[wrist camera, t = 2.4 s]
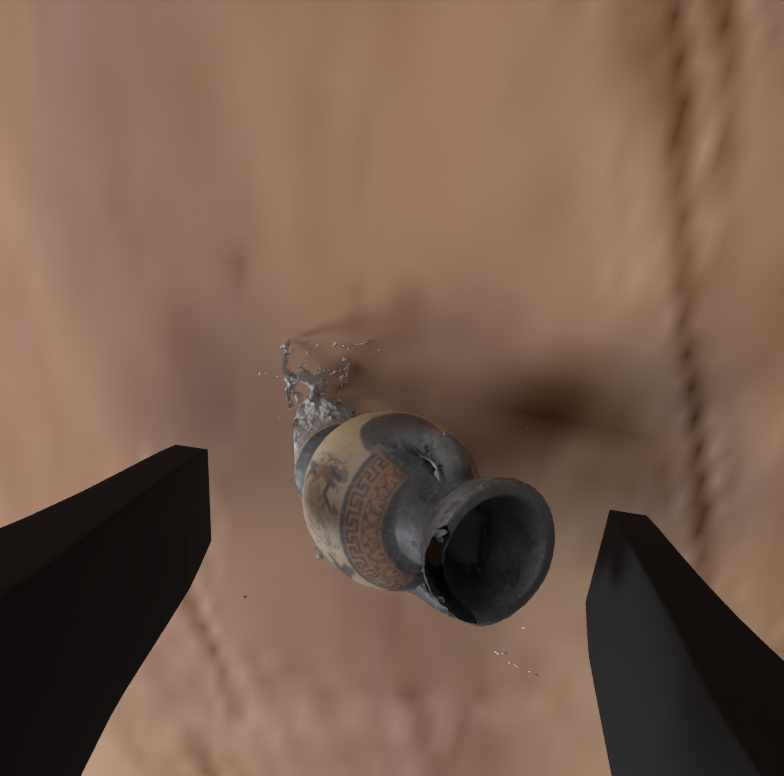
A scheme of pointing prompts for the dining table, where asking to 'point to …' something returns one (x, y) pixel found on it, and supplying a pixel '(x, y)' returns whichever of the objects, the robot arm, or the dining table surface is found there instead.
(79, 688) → the robot arm
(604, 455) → the dining table surface
